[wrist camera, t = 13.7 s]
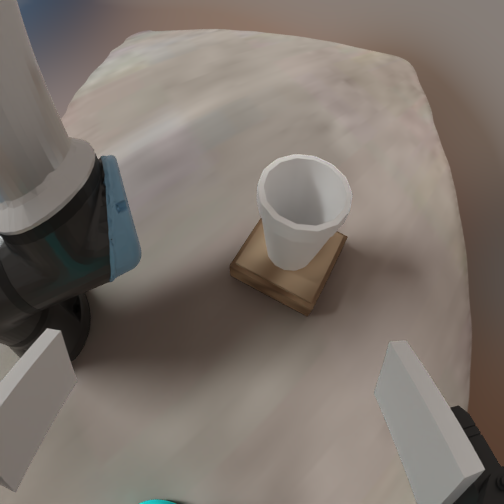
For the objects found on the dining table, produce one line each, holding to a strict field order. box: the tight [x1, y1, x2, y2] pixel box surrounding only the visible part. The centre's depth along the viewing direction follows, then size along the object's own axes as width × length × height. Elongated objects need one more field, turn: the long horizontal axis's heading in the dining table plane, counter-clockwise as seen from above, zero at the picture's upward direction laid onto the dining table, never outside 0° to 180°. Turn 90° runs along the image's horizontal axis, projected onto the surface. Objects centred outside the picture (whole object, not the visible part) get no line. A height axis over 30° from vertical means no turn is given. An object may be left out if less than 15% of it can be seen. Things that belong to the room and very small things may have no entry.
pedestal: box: [230, 218, 347, 316], centre depth 44 cm, size 12×12×4 cm
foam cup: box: [257, 154, 353, 271], centre depth 37 cm, size 10×9×13 cm
